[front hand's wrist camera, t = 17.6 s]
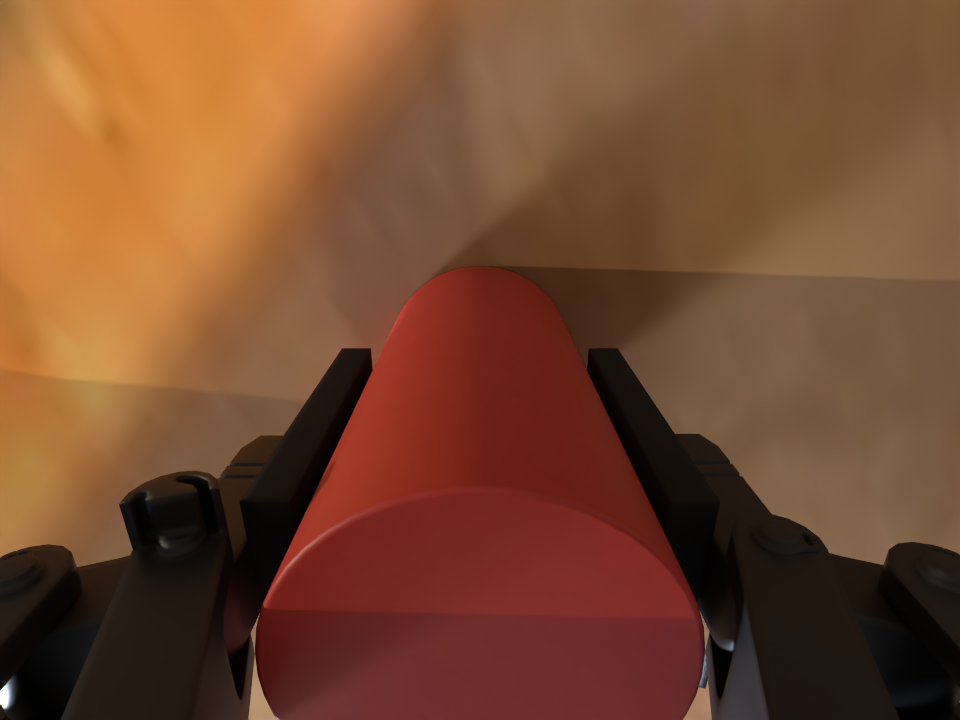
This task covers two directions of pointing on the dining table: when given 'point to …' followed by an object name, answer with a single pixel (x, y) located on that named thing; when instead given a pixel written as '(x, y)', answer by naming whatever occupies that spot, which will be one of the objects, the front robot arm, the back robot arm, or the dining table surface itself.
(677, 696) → the cylinder
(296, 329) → the dining table surface
